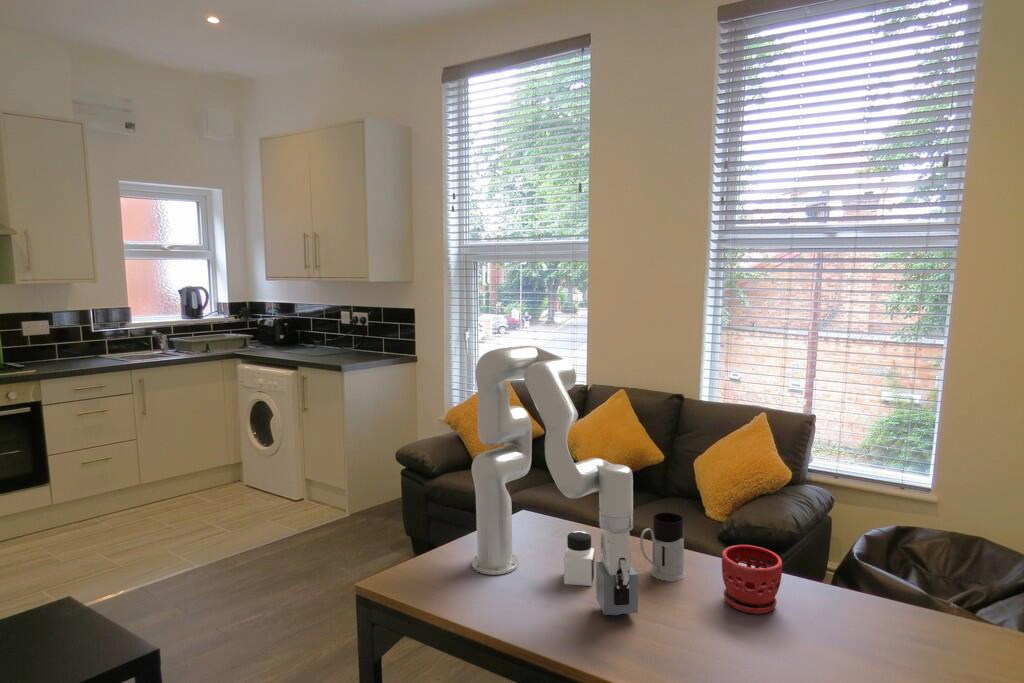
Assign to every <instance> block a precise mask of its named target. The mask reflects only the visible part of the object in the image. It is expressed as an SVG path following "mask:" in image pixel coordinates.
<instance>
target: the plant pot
mask: <svg viewBox="0 0 1024 683" xmlns="http://www.w3.org/2000/svg"><path fill="white" fill-rule="evenodd" d="M721 554H722V555H721V573H722V579H723V583H724V587H725V589H724V590H723V597H724V598H723V599H724V600H725V601H726V602H727V604H728V605H730V606H731V607H732V608H734V609H736V610H739V611H740V612H745V613H748V614H756V615H757V614H766V613H769V612H771V611H772V610H774V609H775V608H776V606H777V603H778V602H777V598H776V596H777V593H778V592H779V590H780V586H781V582H782V581H781V580H782V574H783V560H782V558H781V557H780V556H779V555H778V554H777V553H776V552H773V551H772V550H769V549H767V548H764V547H761V546H758V545H757V546H756V545H750V544H737V545H736V544H735V545H731V546H728V547H726V548H724V550H723V551H722V553H721ZM737 556H738V557H737ZM751 557H754V558H755V559H754V560H751ZM761 559H762V560H763V561H761ZM768 561H770V563H771V565H772V566H770V567H769V566H768ZM740 562H745V563H746V565H742V564H739V563H740ZM752 565H754V567H752ZM760 567H762V568H760Z"/></svg>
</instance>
